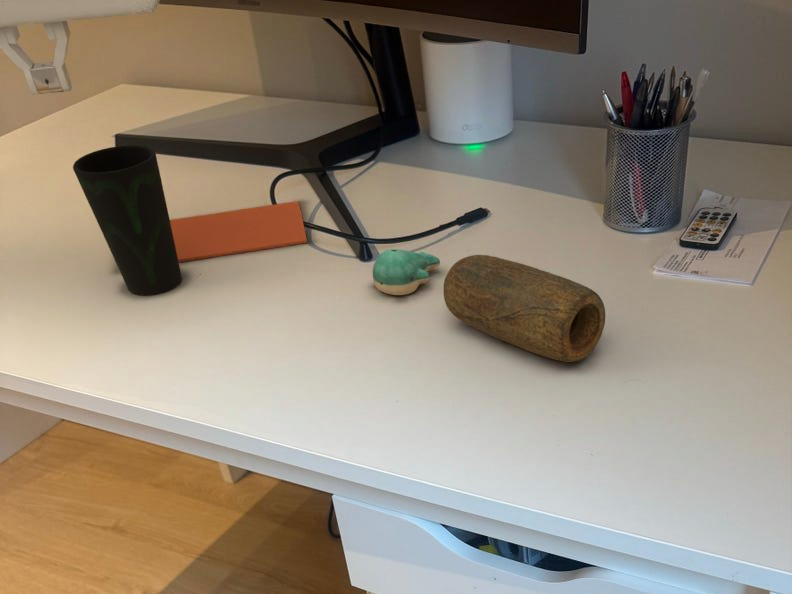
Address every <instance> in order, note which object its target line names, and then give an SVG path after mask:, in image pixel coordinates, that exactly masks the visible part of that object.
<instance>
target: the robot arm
mask: <svg viewBox="0 0 792 594" xmlns="http://www.w3.org/2000/svg"><path fill="white" fill-rule="evenodd" d="M160 2H161V0H0V50H1V51H2V52H3V53H4V54H5V55H6V56H7V57H8V58H9V59H10V60H11V61H12V63H14V65H16V67H17V68H18V69H19V70H20V71H22V72H23V75H24V77H25V80H26V84H27V86H28V89H29V92H30V93H31V95H32V96H36V95H38V96H39V95H44V94H51V93H52V94H54V93H63V92H71V90H72V89H73V85H72V81H71V78H70V74H69V71H68V68H67V65H66V59H67V54H68V48H69V44H70V43H69V42H70V36H71V30H70V26H69V23H68V22H70V21H71V22H72V21H82V20H91V19H92V20H93V19H101V18H102V19H103V18H111V17H120V16H121V17H122V16H130V15H131V16H132V15H141V14H149V13H154V12H155V11H156V10H157V8H158V6H159V4H160ZM41 24H42V26H43V28H44V31H45V35H46V37H47V39H48V40H49V41H55V40H56V44H55V50H54V55H53V60H52V61H46V62H45V61H44V62H35V61H33V59H31V57H30V55H28V53H26V51H25V50H24V49H23V48H22V47H21V46H20V45H19V43H18V40H19V38H20V37H21V34H20V31H19V28H18V26H19V27H21V26H31V25H41Z"/></svg>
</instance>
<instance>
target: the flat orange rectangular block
mask: <svg viewBox="0 0 792 594" xmlns="http://www.w3.org/2000/svg"><path fill="white" fill-rule="evenodd" d="M301 209H302V208H301V205H300V201H299V200H297V201H290V202H289V201H288V202H283V203H277V204H276V203H275V204H268V205H261V206H256V207H255V206H254V207H249V208H241V209H235V210H228V211H221V212H215V213H207V214H200V215H194V216H187V217H182V218H181V217H180V218H175V219H170V224H171V228H172V233H173V238H174V242H175V247H176V252H177V257H178V261H179V263H184V262H190V261H196V260H202V259H209V258H217V257H221V256H228V255H234V254H242V253H248V252H249V253H250V252H254V251H263V250H267V249H276V248H282V247H288V246H294V245H302V244H308V239H307V234H306V230H305V224H304V221H303V215H302V210H301Z"/></svg>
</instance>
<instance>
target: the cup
mask: <svg viewBox="0 0 792 594" xmlns="http://www.w3.org/2000/svg"><path fill="white" fill-rule="evenodd" d="M72 169H73V172H74V175H75V176H76V178H77V180H78V183H79V185H80V187H81V189H82V192H83V194H84V196H85V199H86V201H87V203H88V205H89V207H90V208H91V211H92V214H93V216H94V218H95V220H96V222H97V225H98V227H99V228H100V229H99V230H100V231H101V233H102V235H103V238H104V240H105V242H106V244H107V246H108V249H109V251H110V253H111V255H112V257H113V259H114V262H115V264H116V266H117V268H118V271H119V273H120V275H121V277H122V280H123V281H124V283H125V285H126V288H127V291H128V292H129V293H130V294H133V295H137V296H155V295H160V294H164V293H167V292H169V291H172V290H174V289H175V288H177V287H178V286H179V285H180V284H181V283H182V281H183V277H182V272H181V266H180V262H179V261H178V257H177V252H176V247H175V242H174V238H173V233H172V228H171V224H170V220H171V219H170V215H169V210H168V205H167V201H166V196H165V191H164V186H163V182H162V177H161V172H160V167H159V163H158V158H157V154H156V151H155V150H153V149H152V148H151V147H149V146H144V145H135V144H134V145H133V144H132V145H131V144H128V145H119V146H111V147H105V148H101V149H98V150H95V151H92V152H90V153H87V154H85V155H83V156H80V157H79V158H78V159H76V161H75V162H74V163H73V164H72Z"/></svg>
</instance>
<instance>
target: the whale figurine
mask: <svg viewBox="0 0 792 594" xmlns="http://www.w3.org/2000/svg"><path fill="white" fill-rule="evenodd" d="M440 265H441V260H440V259H439V257H437V256H435V255H434V254H431V253H427V252H424V251H419V252H415V251H412V250H406V249H399V248H388V249H386V250H384V251H382V252H381V253H380V254H379V255H378V256H377V257H376V259H375V261H374V263H373V266H372V277H373V283H374V286H375V287H376V288H377V290H379V291H381V292H383V293H385V294H388V295H392V296H405V295H410V294H412V293H413V292H415V291H416V290H417V289H418V287H419V286H420V285H421V284H426V283H428V282H429V281H430V278H431V276H430V273H429V272H428V271H432V270H435V269H436V268H438V267H439V266H440Z"/></svg>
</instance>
